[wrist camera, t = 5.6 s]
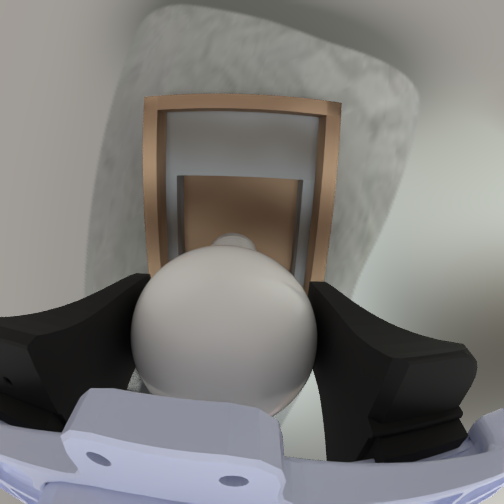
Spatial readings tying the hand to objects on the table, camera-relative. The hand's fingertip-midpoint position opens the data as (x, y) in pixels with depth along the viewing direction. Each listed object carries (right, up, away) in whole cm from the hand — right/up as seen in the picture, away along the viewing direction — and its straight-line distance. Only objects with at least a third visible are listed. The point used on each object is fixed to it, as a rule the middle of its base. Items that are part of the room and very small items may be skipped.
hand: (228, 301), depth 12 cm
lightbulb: (0, +2, +6) cm, 6 cm away
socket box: (0, +5, +9) cm, 11 cm away
